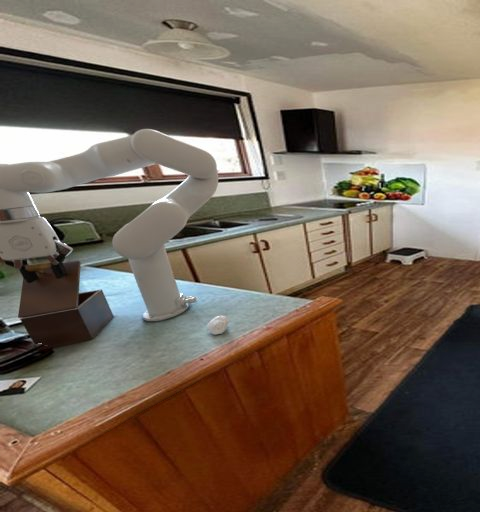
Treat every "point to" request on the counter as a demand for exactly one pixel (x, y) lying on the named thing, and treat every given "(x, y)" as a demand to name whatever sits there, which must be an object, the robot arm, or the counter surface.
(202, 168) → the robot arm
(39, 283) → the lid
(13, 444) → the counter surface
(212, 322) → the dumpling
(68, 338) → the box
